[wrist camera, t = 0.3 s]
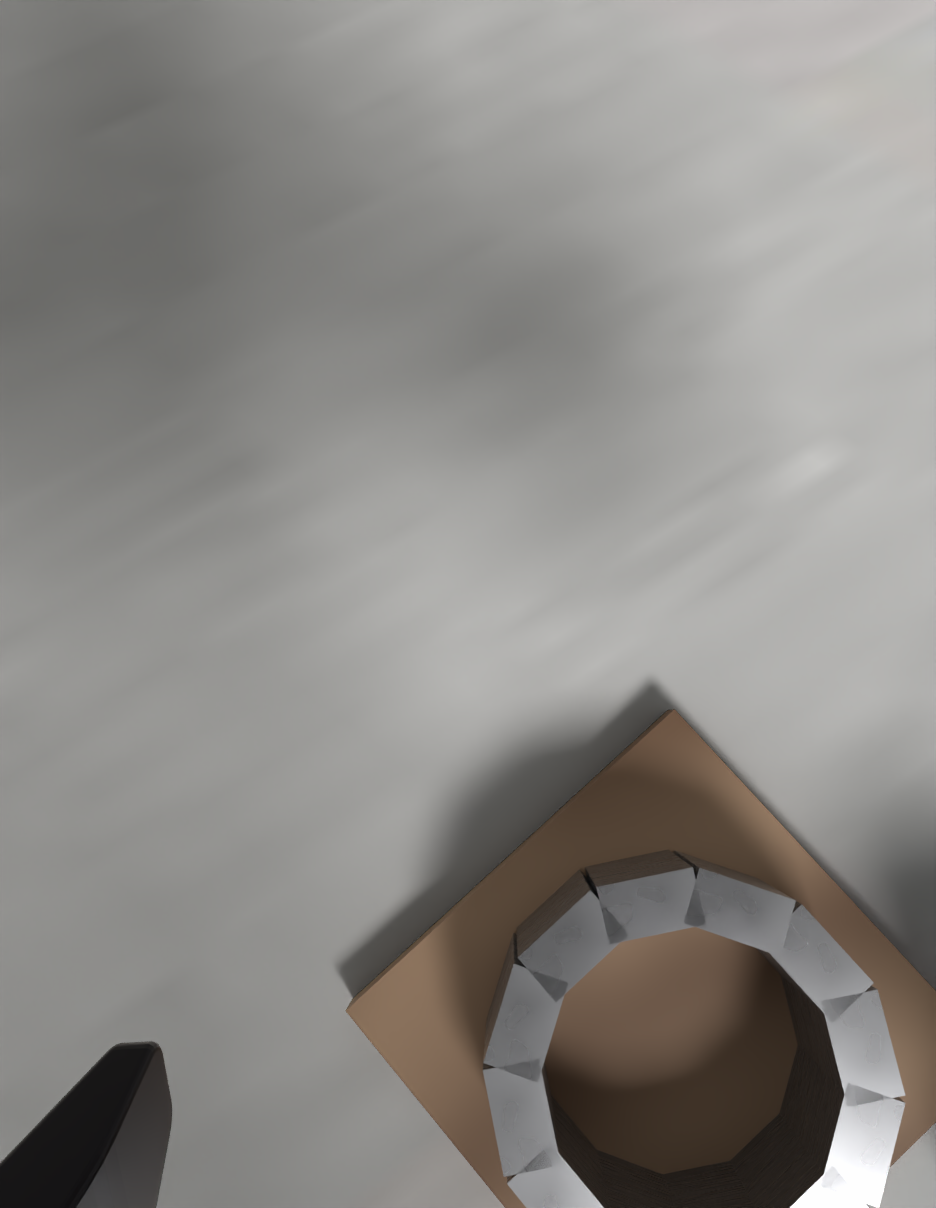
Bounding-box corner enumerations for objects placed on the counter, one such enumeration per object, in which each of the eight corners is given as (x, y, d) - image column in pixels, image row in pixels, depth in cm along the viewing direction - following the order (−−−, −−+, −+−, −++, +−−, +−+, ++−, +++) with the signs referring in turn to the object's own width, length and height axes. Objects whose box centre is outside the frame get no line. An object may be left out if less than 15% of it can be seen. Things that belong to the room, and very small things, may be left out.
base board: (977, 1045, 22) (999, 1059, 21) (650, 1364, 21) (657, 1395, 20) (667, 710, 24) (674, 709, 23) (352, 999, 23) (345, 1010, 22)
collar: (919, 1053, 21) (986, 1105, 18) (659, 1306, 21) (685, 1402, 18) (672, 783, 22) (698, 790, 19) (420, 1016, 22) (406, 1060, 19)
